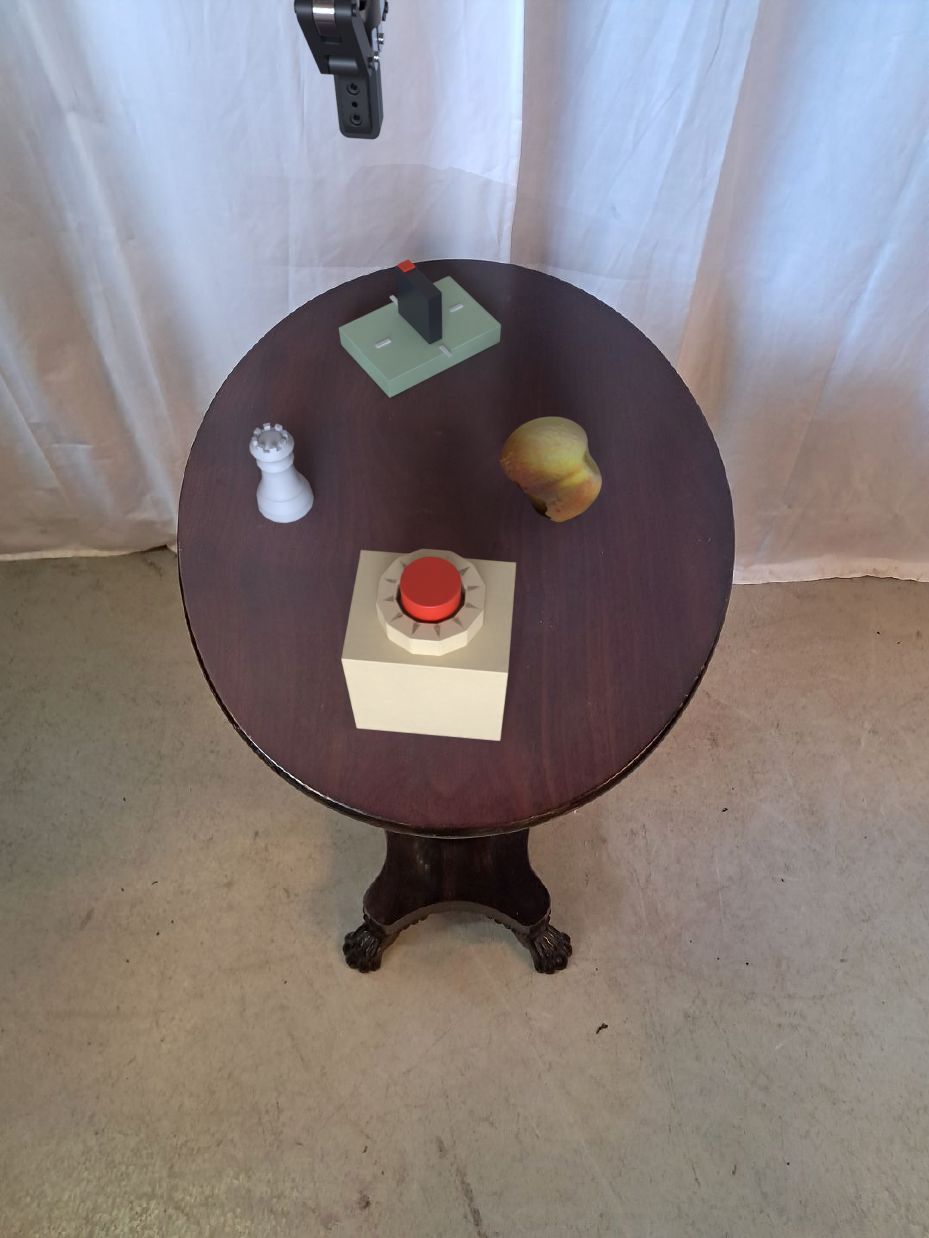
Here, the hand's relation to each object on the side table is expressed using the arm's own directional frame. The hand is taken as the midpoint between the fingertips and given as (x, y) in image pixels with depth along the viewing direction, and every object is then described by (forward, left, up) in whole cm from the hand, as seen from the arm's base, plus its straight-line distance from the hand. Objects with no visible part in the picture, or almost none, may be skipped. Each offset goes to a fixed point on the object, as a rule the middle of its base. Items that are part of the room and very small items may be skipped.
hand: (362, 130), depth 50 cm
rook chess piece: (-8, -4, -29) cm, 31 cm away
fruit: (+13, -2, -29) cm, 32 cm away
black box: (+1, +15, -27) cm, 31 cm away
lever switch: (+1, +15, -29) cm, 33 cm away
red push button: (+5, -19, -17) cm, 26 cm away
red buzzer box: (+5, -19, -29) cm, 35 cm away
